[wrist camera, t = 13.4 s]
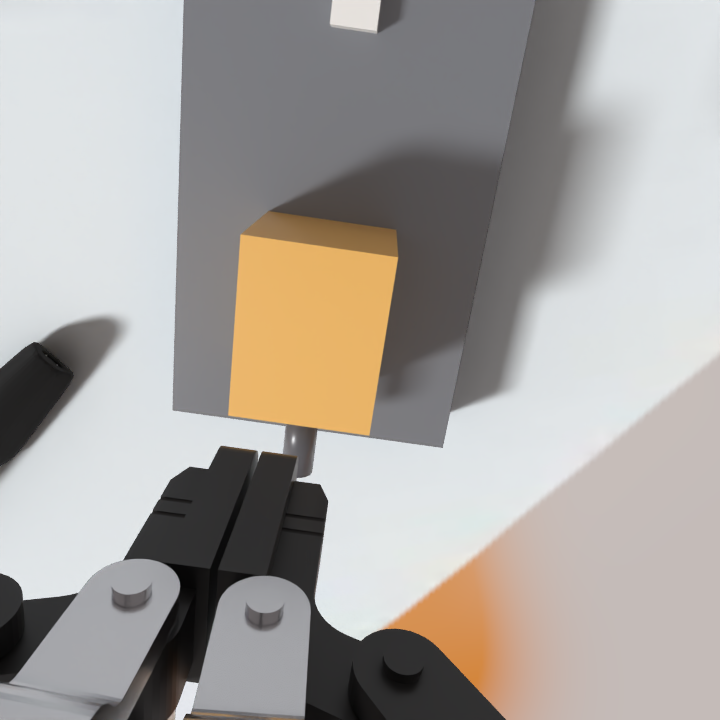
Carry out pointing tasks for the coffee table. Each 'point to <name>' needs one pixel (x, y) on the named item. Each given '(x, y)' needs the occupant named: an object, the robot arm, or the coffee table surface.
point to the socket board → (345, 170)
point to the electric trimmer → (28, 395)
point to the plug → (310, 326)
